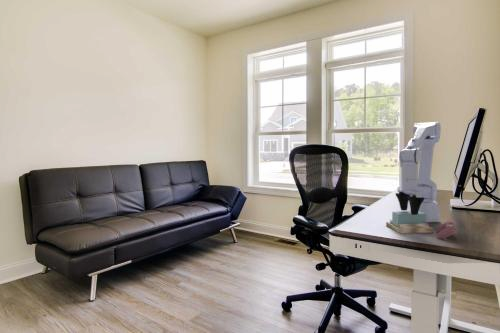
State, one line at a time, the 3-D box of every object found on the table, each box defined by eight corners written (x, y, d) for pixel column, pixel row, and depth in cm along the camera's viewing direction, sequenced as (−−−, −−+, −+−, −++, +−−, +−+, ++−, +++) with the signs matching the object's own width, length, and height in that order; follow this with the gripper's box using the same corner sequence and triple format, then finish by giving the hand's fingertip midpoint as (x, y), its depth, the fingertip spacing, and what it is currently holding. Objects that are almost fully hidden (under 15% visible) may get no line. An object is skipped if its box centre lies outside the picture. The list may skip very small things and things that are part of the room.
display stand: (416, 225, 125) (416, 218, 125) (433, 232, 114) (433, 224, 114) (386, 225, 125) (386, 218, 125) (399, 233, 114) (399, 225, 114)
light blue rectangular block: (418, 223, 122) (418, 211, 121) (425, 225, 117) (425, 213, 117) (392, 223, 121) (392, 211, 121) (398, 226, 117) (398, 214, 117)
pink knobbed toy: (448, 244, 105) (460, 228, 103) (435, 237, 107) (446, 221, 105) (447, 237, 113) (457, 222, 111) (434, 230, 115) (445, 215, 113)
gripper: (390, 177, 125) (390, 208, 126) (409, 181, 111) (409, 216, 112) (407, 176, 125) (406, 208, 126) (428, 180, 111) (427, 216, 112)
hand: (409, 212), depth 119 cm, fingers open, 7 cm apart
